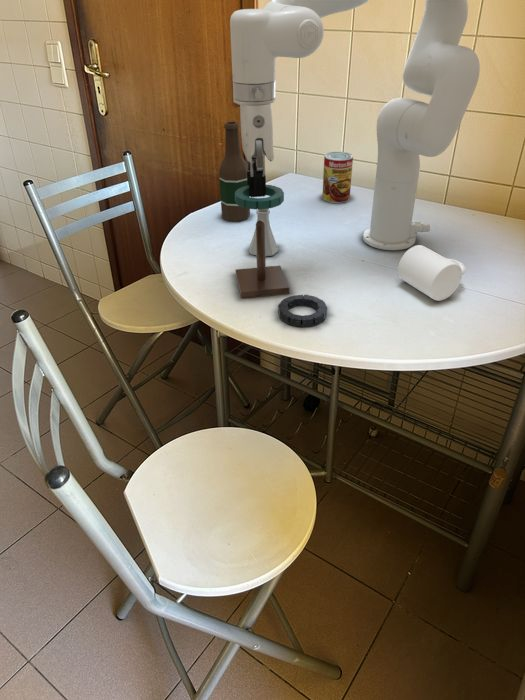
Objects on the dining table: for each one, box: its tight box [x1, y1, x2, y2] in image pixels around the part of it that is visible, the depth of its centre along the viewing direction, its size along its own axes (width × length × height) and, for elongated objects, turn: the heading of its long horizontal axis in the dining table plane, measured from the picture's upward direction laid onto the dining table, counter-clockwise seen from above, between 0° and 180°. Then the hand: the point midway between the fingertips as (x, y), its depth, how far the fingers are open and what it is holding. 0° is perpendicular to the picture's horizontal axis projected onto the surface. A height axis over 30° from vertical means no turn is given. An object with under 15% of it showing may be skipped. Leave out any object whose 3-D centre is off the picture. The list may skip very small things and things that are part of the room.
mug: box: [397, 244, 467, 302], centre depth 107 cm, size 12×10×8 cm
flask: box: [248, 208, 279, 257], centre depth 122 cm, size 7×7×10 cm
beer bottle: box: [218, 120, 251, 223], centre depth 135 cm, size 8×8×24 cm
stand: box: [234, 220, 290, 299], centre depth 108 cm, size 10×10×14 cm
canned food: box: [321, 151, 354, 204], centre depth 148 cm, size 8×8×12 cm
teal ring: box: [235, 184, 285, 211], centre depth 101 cm, size 9×9×2 cm
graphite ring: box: [277, 294, 328, 328], centre depth 102 cm, size 9×9×2 cm
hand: (256, 193), depth 104 cm, fingers closed on teal ring, 2 cm apart
